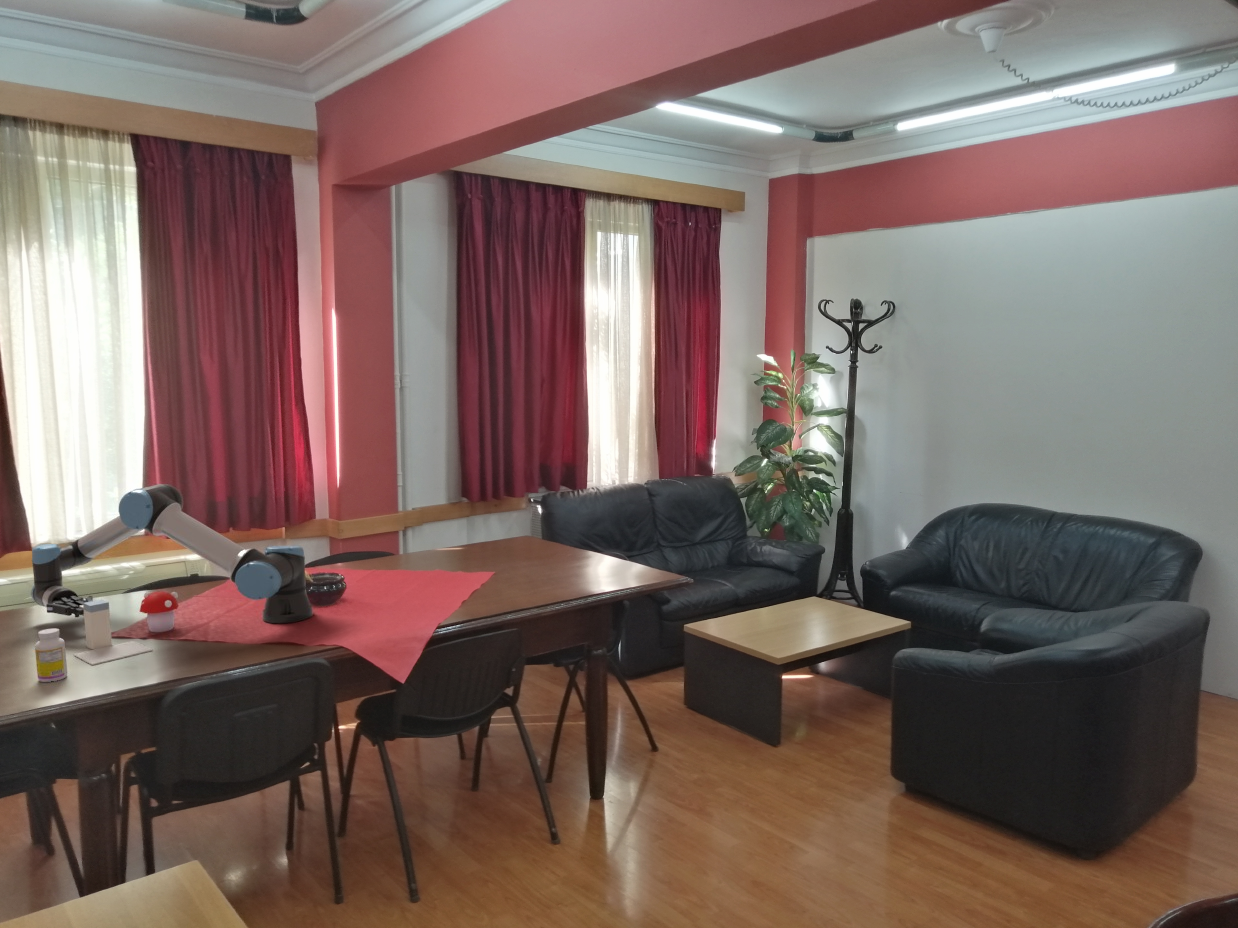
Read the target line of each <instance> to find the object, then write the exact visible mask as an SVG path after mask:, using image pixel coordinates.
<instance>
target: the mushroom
mask: <svg viewBox="0 0 1238 928" xmlns="http://www.w3.org/2000/svg"><path fill="white" fill-rule="evenodd" d="M178 597H179V594H178V592H177V591H176V592H175V591H173V592H171V593H169V592H166V591H164V590H160V591H159V590H157V591H154V592H150V591H146V592H145V593H144V594H143V599H142V600H141V604H140V608H139V612H140V613H143V614H146V622H147V625H148V630H149V632H151V633H164V632H168V631H171V630H172V629H174V626H175V617H176V616H175V612H174V610H177V609H178V608H179V603H178V600H177V599H178Z"/></svg>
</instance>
